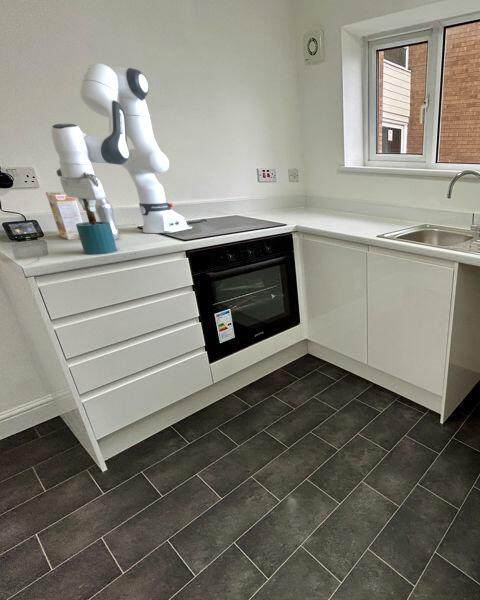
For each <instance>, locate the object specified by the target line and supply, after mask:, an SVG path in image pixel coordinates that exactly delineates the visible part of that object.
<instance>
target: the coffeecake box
mask: <svg viewBox="0 0 480 600" xmlns="http://www.w3.org/2000/svg"><path fill="white" fill-rule="evenodd" d="M45 195H46V198H47V200H48V203H49V206H50V210H51V213H52V215H53V218H54V222H55V225H56V228H57V231H58V234H59V236H61V237H62V238H64V239H67V240H70V241H71V240H78V239H79V240H80V237H79V233H78V230H77V227H76V224H78V223H84V222H83V219H82V215H81V212H80V208H79V205H78V202H77V198H74V197H68V196H67V195H66V194H65V192H64V191H45Z"/></svg>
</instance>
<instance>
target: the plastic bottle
mask: <svg viewBox="0 0 480 600" xmlns="http://www.w3.org/2000/svg"><path fill="white" fill-rule="evenodd" d="M95 201H96V203H95V209H96V211H95V214H96V216H97V218H98V222H109V223H110V226H111V229H112V233H113V237H114V241H115V240H118V239H120V238H121V235H120V231H119V229H118V227H117V224H116V220H115V217H114V209H113V205H112V204H111V202H110V201H108V200H107V196H106V195H105V200H95Z"/></svg>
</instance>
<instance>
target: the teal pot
mask: <svg viewBox="0 0 480 600" xmlns="http://www.w3.org/2000/svg"><path fill="white" fill-rule="evenodd" d="M96 223H99V224H97V225H87V224H91V223H89V221H86V222H83V223H78V224H76V227H77V230H78V233H79V237H80V239H79V240H80V244H81V247H82V250H83V252H84V254H85V255H103V254H111V253H114V252H117V251H118V249H117V245H116V241H115V240H114V237H113V233H112V229H111V226H110V223H109V222H99V221H96Z"/></svg>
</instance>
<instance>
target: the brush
mask: <svg viewBox="0 0 480 600" xmlns="http://www.w3.org/2000/svg"><path fill="white" fill-rule="evenodd" d="M82 200H83V203H84V206H85V210H84V211H85V213H86V216H87V219H88V220H87V221H88V222H89V223H91V224H87V225H97V224H99V223H96V222H97V218H96V215H95V211H89V210H88V207H87V206H88V202H87V200H86V199H82Z"/></svg>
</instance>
